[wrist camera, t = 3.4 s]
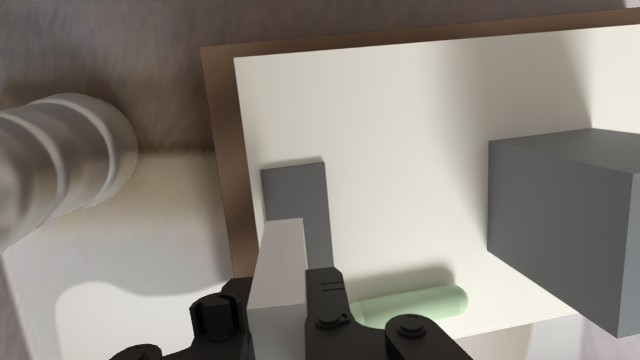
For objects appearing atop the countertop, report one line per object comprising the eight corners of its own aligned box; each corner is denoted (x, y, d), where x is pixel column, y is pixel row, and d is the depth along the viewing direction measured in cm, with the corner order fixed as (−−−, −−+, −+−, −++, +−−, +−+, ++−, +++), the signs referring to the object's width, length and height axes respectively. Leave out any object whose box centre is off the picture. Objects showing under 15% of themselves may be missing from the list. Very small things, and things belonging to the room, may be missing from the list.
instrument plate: (643, 284, 27) (848, 386, 18) (274, 359, 23) (297, 537, 14) (672, 23, 23) (952, -17, 14) (233, 59, 19) (229, 38, 10)
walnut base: (605, 275, 30) (640, 297, 27) (249, 313, 30) (244, 341, 26) (628, 13, 26) (673, 3, 23) (211, 50, 25) (199, 46, 22)
